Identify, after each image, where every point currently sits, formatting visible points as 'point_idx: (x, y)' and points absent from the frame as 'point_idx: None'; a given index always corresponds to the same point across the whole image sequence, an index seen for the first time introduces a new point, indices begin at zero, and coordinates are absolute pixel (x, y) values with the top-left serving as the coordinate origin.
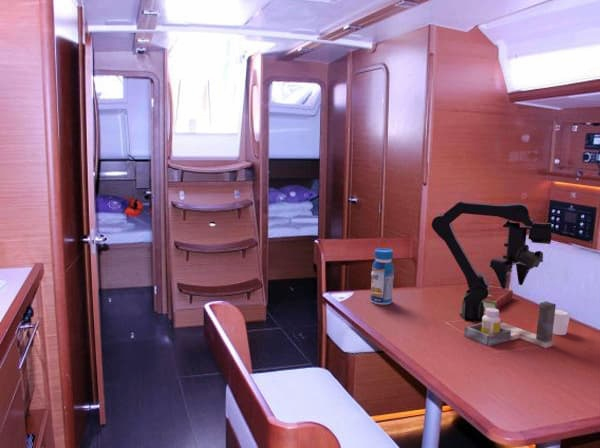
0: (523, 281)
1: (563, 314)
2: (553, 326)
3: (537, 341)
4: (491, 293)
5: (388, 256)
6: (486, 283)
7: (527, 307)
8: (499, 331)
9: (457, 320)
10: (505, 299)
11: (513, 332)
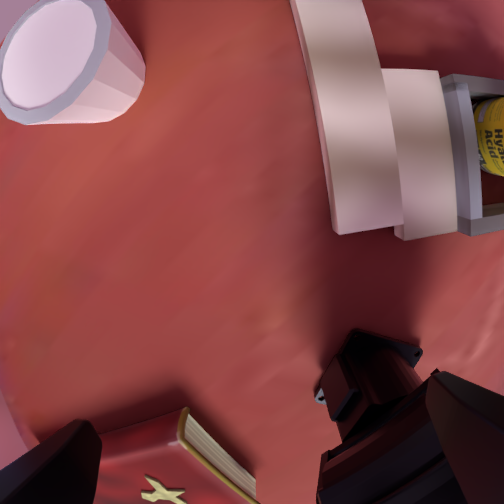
0: (51, 441)
1: (57, 9)
2: (132, 45)
3: None
4: (126, 490)
5: None
6: (439, 490)
7: (28, 378)
8: (501, 98)
9: (434, 364)
10: None
11: (401, 94)
